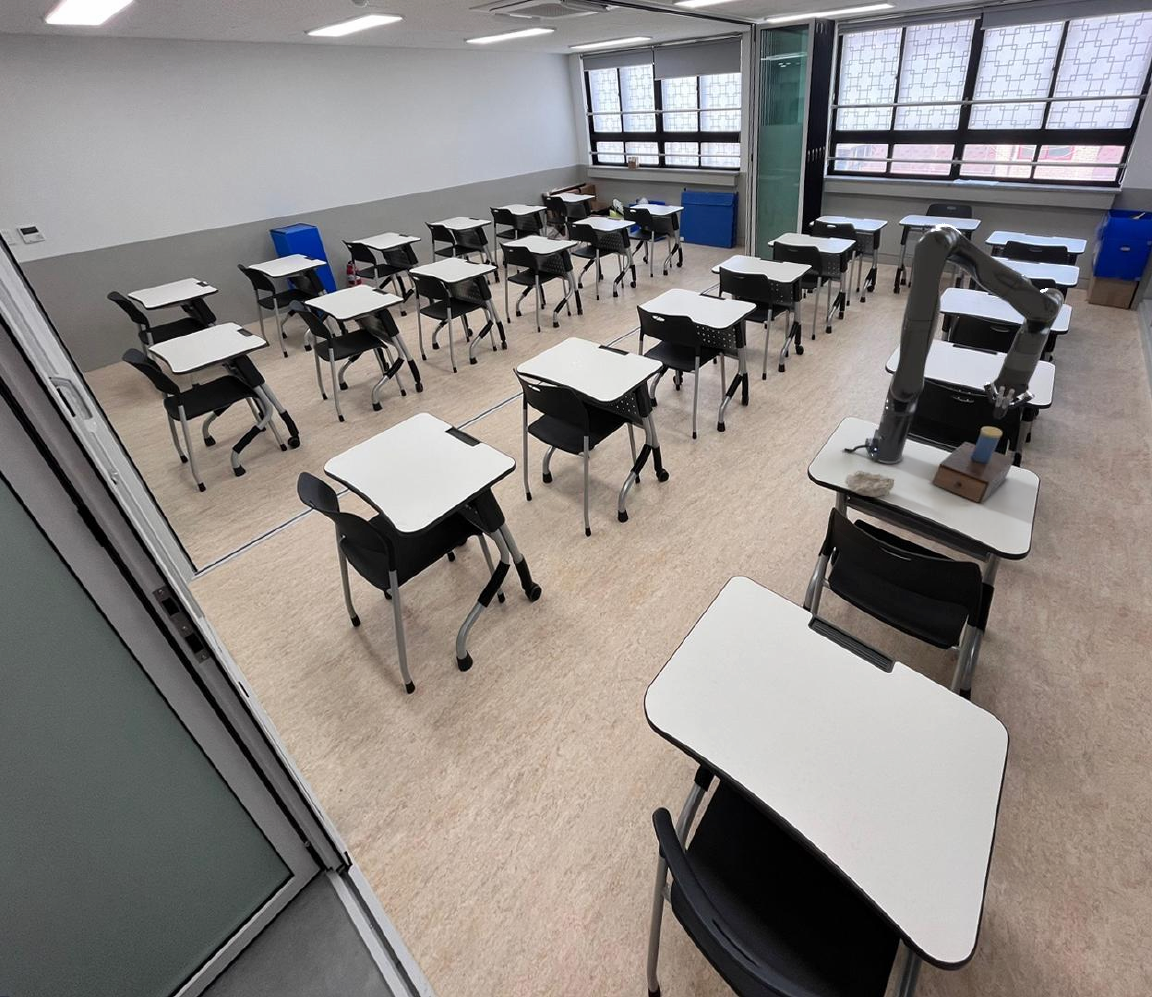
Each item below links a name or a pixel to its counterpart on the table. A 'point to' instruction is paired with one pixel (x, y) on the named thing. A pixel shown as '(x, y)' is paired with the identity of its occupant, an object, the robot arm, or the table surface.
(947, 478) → the drawer
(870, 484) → the stone
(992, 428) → the tin
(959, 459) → the cabinet
